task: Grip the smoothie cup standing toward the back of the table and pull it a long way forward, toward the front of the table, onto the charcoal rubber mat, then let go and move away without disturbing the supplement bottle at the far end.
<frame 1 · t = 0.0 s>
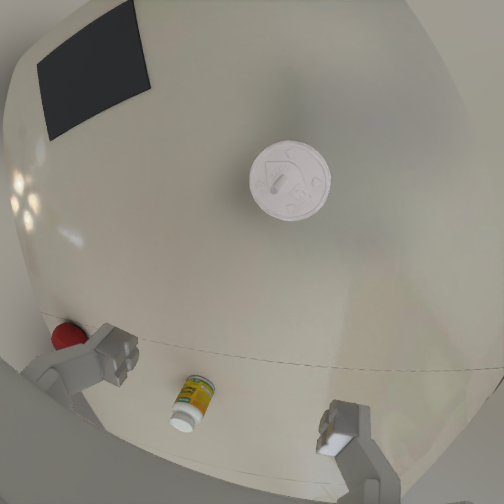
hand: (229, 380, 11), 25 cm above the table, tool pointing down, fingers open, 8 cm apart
tomato: (79, 333, 55), on the table
mat: (84, 72, 32), on the table
supplement bottle: (201, 384, 51), on the table
smoothie: (300, 164, 32), on the table
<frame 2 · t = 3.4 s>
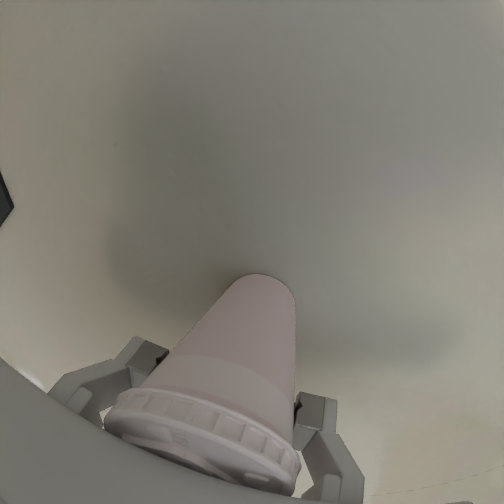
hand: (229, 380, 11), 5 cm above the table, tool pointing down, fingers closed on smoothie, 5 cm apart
smoothie: (261, 303, 16), on the table, touching gripper
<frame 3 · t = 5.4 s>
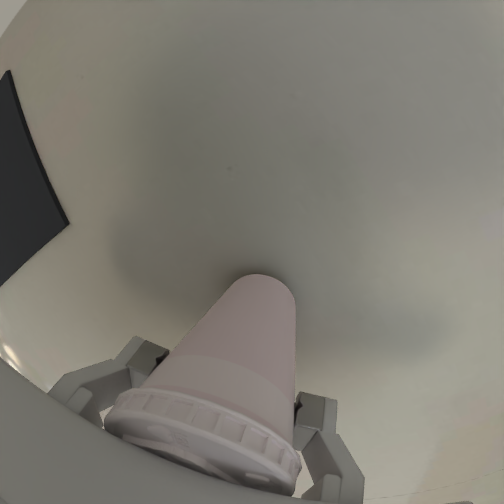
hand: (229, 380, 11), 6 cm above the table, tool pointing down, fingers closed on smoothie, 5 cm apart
smoothie: (261, 303, 16), point 1 cm above the table, touching gripper
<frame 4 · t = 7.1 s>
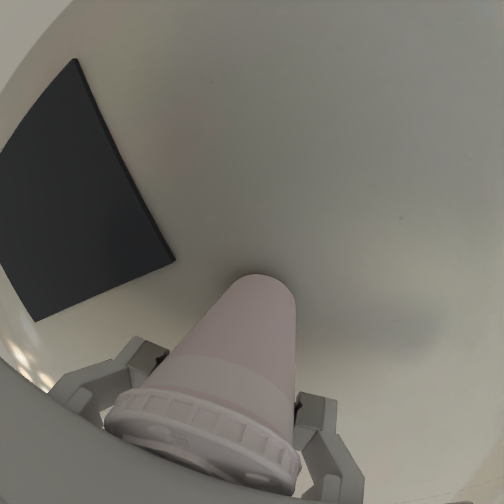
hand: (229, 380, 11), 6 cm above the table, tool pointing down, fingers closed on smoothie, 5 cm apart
mat: (39, 221, 19), on the table
smoothie: (261, 303, 16), point 1 cm above the table, touching gripper
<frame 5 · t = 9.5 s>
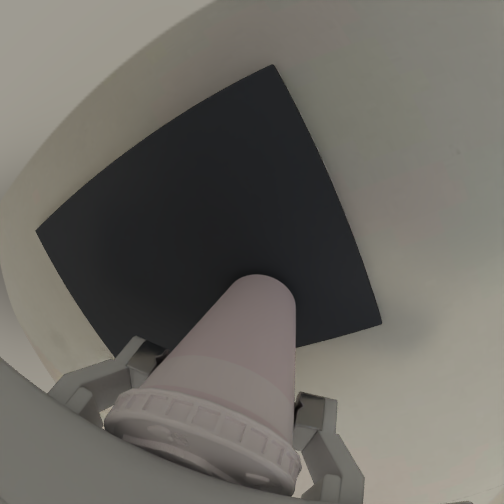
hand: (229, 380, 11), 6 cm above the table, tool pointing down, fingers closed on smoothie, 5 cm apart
mat: (172, 268, 17), on the table
smoothie: (261, 303, 16), point 1 cm above the table, touching gripper
when the fingers open (6 cm above the table, at t = 11.3 s): smoothie stays where it is, resting on mat.
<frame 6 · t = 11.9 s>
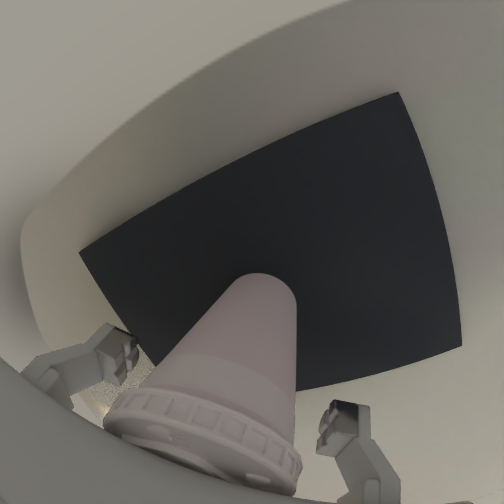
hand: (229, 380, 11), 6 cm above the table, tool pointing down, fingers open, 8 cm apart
mat: (261, 300, 16), on the table
smoothie: (262, 302, 16), resting on mat
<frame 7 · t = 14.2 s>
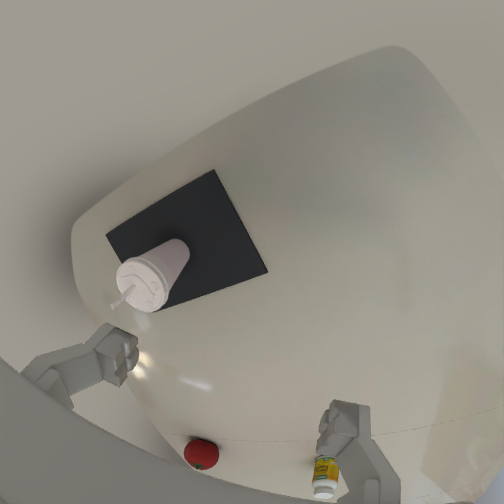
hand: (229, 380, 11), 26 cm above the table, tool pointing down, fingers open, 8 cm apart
tomato: (205, 443, 61), on the table
mat: (178, 250, 40), on the table
supplement bottle: (327, 458, 54), on the table
smoothie: (177, 251, 40), resting on mat
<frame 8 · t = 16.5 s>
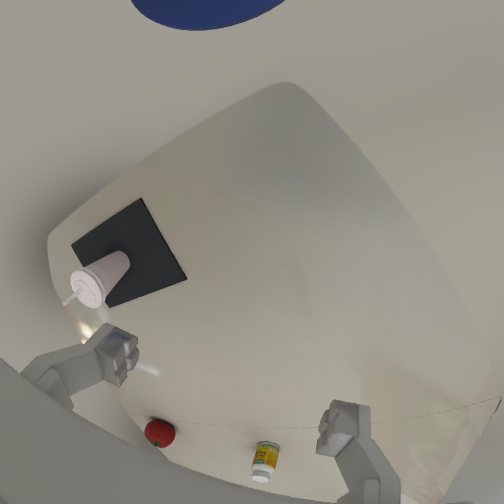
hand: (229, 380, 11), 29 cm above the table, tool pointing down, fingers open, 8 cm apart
tomato: (164, 424, 70), on the table
mat: (122, 260, 48), on the table
supplement bottle: (269, 446, 63), on the table
smoothie: (121, 260, 48), resting on mat
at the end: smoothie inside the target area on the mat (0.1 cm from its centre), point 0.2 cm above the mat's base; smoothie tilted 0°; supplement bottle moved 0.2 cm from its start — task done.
